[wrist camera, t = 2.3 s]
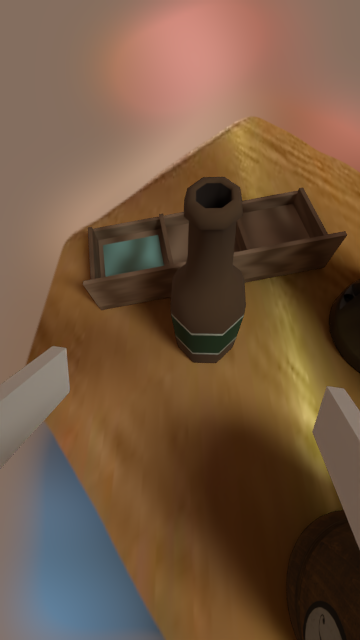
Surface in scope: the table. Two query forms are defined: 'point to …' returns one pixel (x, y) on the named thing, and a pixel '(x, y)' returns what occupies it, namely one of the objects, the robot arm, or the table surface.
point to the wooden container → (325, 581)
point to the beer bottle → (209, 273)
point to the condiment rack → (172, 249)
